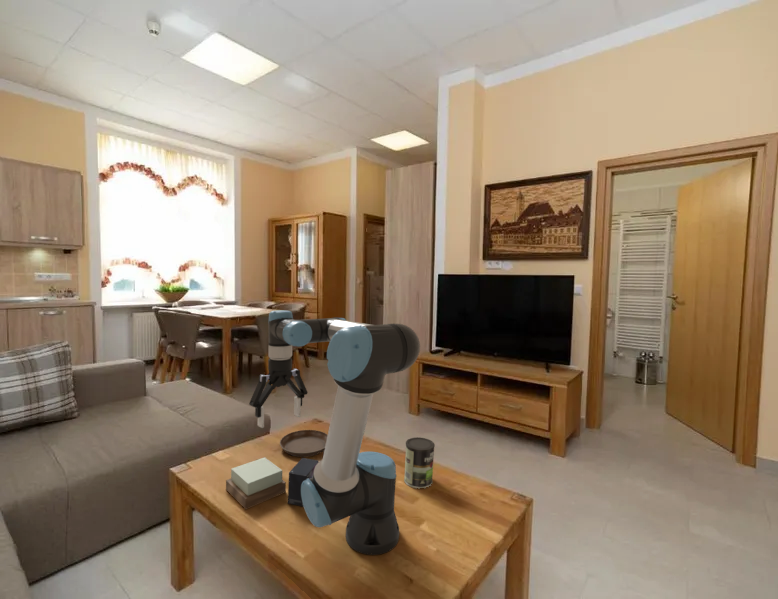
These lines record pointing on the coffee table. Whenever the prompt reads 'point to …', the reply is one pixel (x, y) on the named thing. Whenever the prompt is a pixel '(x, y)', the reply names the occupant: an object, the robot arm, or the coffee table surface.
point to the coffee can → (419, 462)
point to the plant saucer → (304, 443)
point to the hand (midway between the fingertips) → (279, 421)
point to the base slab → (256, 497)
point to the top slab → (256, 476)
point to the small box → (299, 479)
